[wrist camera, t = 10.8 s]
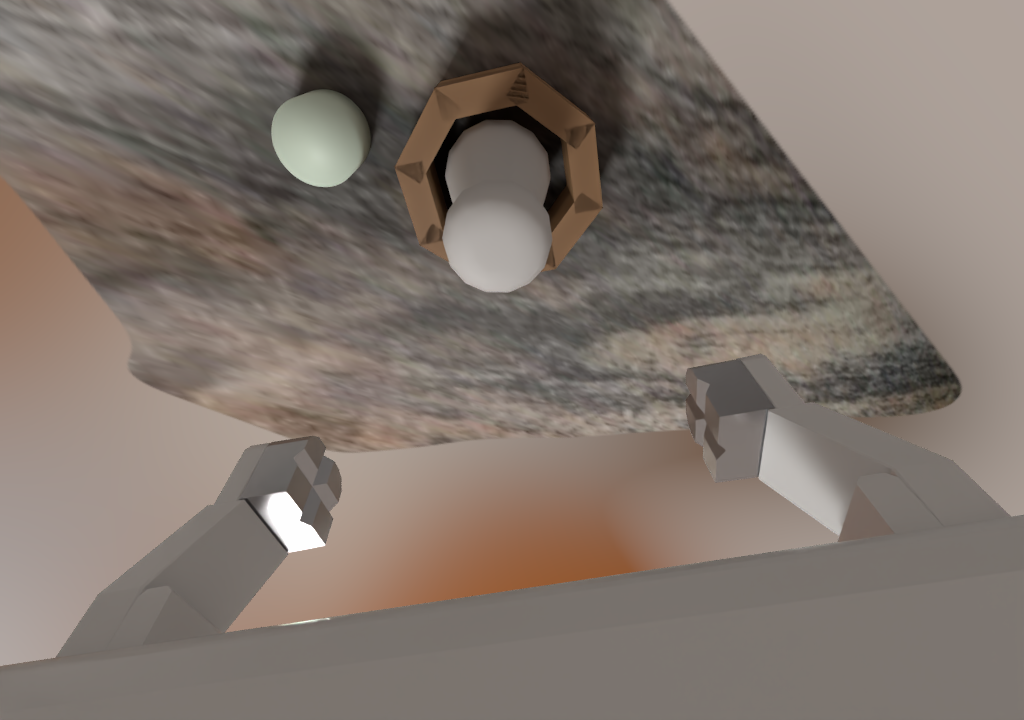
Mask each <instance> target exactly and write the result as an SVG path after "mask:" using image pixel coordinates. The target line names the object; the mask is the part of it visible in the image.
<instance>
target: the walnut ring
mask: <svg viewBox="0 0 1024 720" xmlns="http://www.w3.org/2000/svg"><path fill="white" fill-rule="evenodd" d="M515 105H517V106H518V107H520V108H521V109H522V110H524V111H525V112H526V113H528V114H529V115H530V116H532V117H533V118H534V119H536V120H537V121H538V122H540V123H541V124H543V125H544V126H545V127H547V128H548V129H549V130H551V131H552V132H553V133H555V134H556V135H557V136H559V137H560V138H561V145H562V153H563V160H564V168H565V175H566V183H567V185H566V186H565V188H564V189H563V191H562V192H561V194H560V195H559V196H558V198H557V199H556V201H555V202H554V203H553V205H552V206H551V208H550V209H549V211H548V212H547V213H548V215H549V220H550V226H551V233H552V244H551V248H550V251H549V254H548V258H547V261H546V264H545V267H544V268H543V270H542V271H547V270H553V269H556V268H557V267H558V265H559V264H560V263H561V261H562V260H563V259H564V257H565V256H566V255H567V254H568V252H569V251H570V250H571V248H572V247H573V246H574V244H575V243H576V242H577V240H578V239H579V238H580V237H581V235H582V234H583V233H584V231H585V230H586V229H587V227H588V226H589V225H590V223H591V222H592V221H593V220H594V218H595V217H596V216H597V214H598V213H599V212H600V210H601V209H602V208H603V207H602V196H601V186H600V175H599V164H598V154H597V143H596V132H595V122H594V121H593V120H592V119H591V118H590V117H589V116H588V115H587V114H586V113H585V112H583V111H582V110H581V109H579V108H578V107H577V106H575V105H574V104H573V103H572V102H570V101H569V100H568V99H566V98H565V97H564V96H563V95H561V94H560V93H559V92H558V91H556V90H555V89H554V88H552V87H551V86H550V85H549V84H547V83H546V82H545V81H543V80H542V79H541V78H540V77H538V76H537V75H536V74H535V73H533V72H532V71H531V70H529V69H528V68H527V67H526V66H524V65H523V64H522V63H521V62H520V63H516V64H512V65H507V66H503V67H499V68H495V69H491V70H486V71H482V72H478V73H474V74H469V75H465V76H461V77H457V78H452V79H448V80H444V81H441V82H440V83H439V84H438V85H437V86H436V87H435V88H434V91H433V93H432V95H431V97H430V99H429V101H428V102H427V104H426V106H425V108H424V110H423V112H422V114H421V116H420V118H419V120H418V122H417V124H416V126H415V128H414V130H413V132H412V134H411V136H410V138H409V140H408V142H407V144H406V146H405V148H404V150H403V152H402V154H401V156H400V158H399V160H398V162H397V164H396V165H395V170H396V173H397V176H398V179H399V182H400V185H401V188H402V191H403V195H404V198H405V201H406V204H407V207H408V210H409V213H410V216H411V219H412V222H413V225H414V229H415V232H416V235H417V238H418V241H419V244H420V246H422V247H424V248H426V249H427V250H429V251H431V252H432V253H434V254H436V255H438V256H439V257H441V258H443V259H444V260H446V261H448V262H449V260H448V257H447V254H446V250H445V247H444V244H443V239H442V236H443V231H444V226H445V221H446V216H447V212H448V210H447V207H446V203H445V200H444V196H443V192H442V189H441V185H440V182H439V178H438V174H437V171H436V167H435V164H434V160H433V159H434V157H435V156H436V154H437V152H438V150H439V148H440V146H441V145H442V143H443V141H444V139H445V137H446V135H447V134H448V132H449V130H450V128H451V126H452V124H453V123H454V121H455V119H458V118H463V117H467V116H471V115H476V114H480V113H484V112H489V111H493V110H498V109H502V108H506V107H511V106H515ZM542 271H541V272H542Z"/></svg>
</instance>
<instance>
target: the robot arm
mask: <svg viewBox="0 0 1024 720" xmlns="http://www.w3.org/2000/svg"><path fill="white" fill-rule="evenodd" d="M686 385H687V387H688V389H689V391H690V393H691V394H690V395H689V396H688V397H687V399H686V415H687V421H688V425H689V428H690V431H691V434H692V436H693V438H694V440H695V442H696V443H698V444H699V445H701V446H703V459H704V461H705V463H706V465H707V467H708V469H709V471H710V473H711V475H712V477H713V479H714V481H715V482H723V481H731V480H739V479H746V478H754V477H759V480H761V481H762V482H764V483H765V484H766V485H768V486H769V487H771V488H772V489H773V490H775V491H776V492H778V493H779V494H781V495H782V496H783V497H785V498H786V499H788V500H789V501H790V502H792V503H793V504H795V505H796V506H798V507H799V508H800V509H802V510H803V511H804V512H806V513H807V514H809V515H810V516H811V517H813V518H814V519H816V520H817V521H818V522H820V523H821V524H823V525H824V526H825V527H827V528H828V529H830V530H831V531H832V532H834V533H835V534H837V535H838V536H839V539H838V542H837V543H830V544H823V545H816V546H809V547H802V548H796V549H789V550H782V551H775V552H768V553H762V554H755V555H748V556H741V557H735V558H729V559H721V560H714V561H708V562H702V563H694V564H688V565H680V566H674V567H667V568H661V569H654V570H647V571H640V572H633V573H626V574H620V575H613V576H606V577H600V578H593V579H586V580H580V581H573V582H566V583H559V584H553V585H546V586H539V587H532V588H526V589H519V590H512V591H505V592H498V593H492V594H485V595H478V596H471V597H465V598H457V599H451V600H444V601H437V602H430V603H424V604H417V605H410V606H403V607H396V608H390V609H383V610H376V611H369V612H362V613H356V614H349V615H342V616H336V617H329V618H322V619H315V620H308V621H302V622H295V623H288V624H281V625H275V626H269V627H261V628H255V629H248V630H241V631H234V632H227V633H225V631H226V630H227V629H228V628H229V626H230V625H231V624H232V623H233V622H234V620H235V619H236V618H237V617H238V615H239V614H240V613H241V612H242V611H243V609H244V608H245V607H246V606H247V604H248V603H249V602H250V601H251V600H252V598H253V597H254V596H255V595H256V593H257V592H258V591H259V589H260V588H261V587H262V586H263V585H264V584H265V582H266V581H267V580H268V579H269V577H270V576H271V575H272V574H273V572H274V571H275V570H276V569H277V568H278V566H279V565H280V564H281V563H282V561H283V560H284V559H285V558H286V557H287V555H288V553H287V552H292V551H298V550H302V549H308V548H313V547H319V546H324V545H325V544H326V541H327V537H328V534H329V531H330V528H331V524H332V521H333V518H332V516H331V514H330V512H329V511H330V510H331V509H332V508H333V507H334V506H335V505H336V504H337V503H338V502H339V498H340V495H341V476H340V472H339V469H338V467H337V465H336V464H335V462H334V461H333V460H331V459H329V458H327V457H325V456H324V452H325V449H326V447H325V445H324V444H323V442H322V441H321V439H320V438H319V437H316V436H309V437H302V438H296V439H290V440H284V441H277V442H272V443H267V444H260V445H254V446H250V447H249V448H247V449H246V450H245V451H244V452H243V454H242V456H241V458H240V459H239V461H238V463H237V465H236V466H235V468H234V470H233V472H232V474H231V475H230V477H229V479H228V481H227V482H226V484H225V486H224V488H223V490H222V491H221V493H220V495H219V496H218V498H217V500H216V502H215V504H214V505H209V506H206V507H205V508H204V509H203V510H201V511H200V512H199V513H198V514H196V515H195V516H194V517H193V518H192V519H190V520H189V521H188V522H187V523H185V524H184V525H183V526H182V527H181V528H179V529H178V530H177V531H176V532H174V533H173V534H172V535H171V536H169V537H168V538H167V539H166V540H164V541H163V542H162V543H161V544H160V545H158V546H157V547H156V548H155V549H153V550H152V551H151V552H150V553H149V554H147V555H146V556H145V557H144V558H143V559H141V560H140V561H139V562H137V563H136V564H135V565H134V566H133V567H132V568H130V569H129V570H128V571H126V572H125V573H124V574H123V575H122V576H120V577H119V578H118V579H117V580H115V581H114V582H113V583H112V584H110V585H109V586H108V587H107V588H106V589H104V590H103V591H102V592H101V593H99V594H98V595H97V597H96V598H95V600H94V601H93V603H92V604H91V606H90V607H89V609H88V610H87V612H86V613H85V615H84V616H83V618H82V619H81V621H80V622H79V623H78V625H77V626H76V628H75V629H74V631H73V632H72V634H71V635H70V637H69V638H68V640H67V641H66V643H65V644H64V646H63V647H62V649H61V650H60V652H59V653H58V655H57V656H56V657H55V658H51V659H44V660H38V661H31V662H24V663H17V664H12V665H4V666H0V720H1024V515H1020V516H1013V517H1011V516H1010V515H1009V514H1008V513H1007V512H1006V511H1005V510H1004V509H1003V508H1002V507H1001V506H1000V505H999V504H998V503H996V502H995V501H994V500H993V499H992V498H991V497H990V496H989V495H988V494H987V493H986V492H985V491H984V490H983V489H982V488H981V487H980V486H979V485H978V484H977V483H976V482H975V481H974V480H973V479H971V478H970V477H969V476H968V475H967V474H966V473H965V472H964V471H963V470H962V469H961V468H960V467H959V466H958V465H957V464H956V463H955V462H954V461H953V460H950V459H948V458H946V457H943V456H941V455H939V454H936V453H934V452H931V451H929V450H927V449H924V448H922V447H919V446H917V445H914V444H912V443H910V442H907V441H905V440H902V439H900V438H898V437H895V436H893V435H891V434H888V433H885V432H883V431H881V430H879V429H876V428H874V427H871V426H869V425H867V424H864V423H862V422H859V421H857V420H855V419H852V418H850V417H847V416H845V415H843V414H840V413H838V412H835V411H833V410H831V409H828V408H826V407H823V406H821V405H819V404H816V403H814V402H811V403H805V402H804V401H803V400H802V399H801V397H800V396H799V395H798V394H797V393H796V391H795V390H794V389H793V388H792V387H791V385H790V384H789V383H788V382H787V381H786V379H785V378H784V377H783V376H782V375H781V373H780V372H779V371H778V370H777V369H776V367H775V366H774V365H773V364H772V363H771V361H770V360H769V359H768V358H767V357H766V356H765V355H763V354H758V355H753V356H748V357H743V358H738V359H736V360H731V361H725V362H720V363H715V364H709V365H704V366H698V367H693V368H688V369H687V372H686Z"/></svg>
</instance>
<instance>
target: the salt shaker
mask: <svg viewBox="0 0 1024 720" xmlns="http://www.w3.org/2000/svg"><path fill="white" fill-rule="evenodd" d="M445 178H446V182H447V186H448V189H449V193H450V197H451V200H452V203H453V204H452V206H451V207H450V208H449V210H448V212H447V216H446V221H445V226H444V231H443V236H442V239H443V244H444V247H445V250H446V254H447V257H448V260H449V263H450V266H451V267H452V268H453V270H454V271H455V272H456V273H457V274H458V275H459V276H460V278H461V279H462V280H463V281H464V282H465V283H467V284H469V285H471V286H474V287H476V288H478V289H481V290H483V291H485V292H511V291H513V290H515V289H518V288H520V287H522V286H524V285H527V284H529V283H530V282H531V281H532V280H533V279H534V278H535V277H536V276H537V275H538V274H539V273H540V272H541V271H542V270H543V268H544V267H545V264H546V261H547V258H548V254H549V251H550V248H551V244H552V233H551V226H550V220H549V215H548V213H547V211H546V210H545V208H544V207H543V204H544V202H545V198H546V194H547V190H548V187H549V183H550V179H551V176H550V168H549V160H548V153H547V152H546V150H545V149H544V148H543V146H542V145H541V143H540V142H539V140H538V139H537V138H536V136H535V135H534V133H533V132H531V131H529V130H528V129H526V128H524V127H522V126H521V125H519V124H517V123H516V122H514V121H512V120H485V121H483V122H481V123H479V124H477V125H475V126H473V127H471V128H469V129H466V130H464V131H463V133H462V134H461V135H460V137H459V138H458V140H457V141H456V142H455V144H454V145H453V147H452V148H451V149H450V151H449V155H448V161H447V166H446V172H445Z"/></svg>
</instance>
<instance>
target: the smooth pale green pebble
mask: <svg viewBox="0 0 1024 720" xmlns="http://www.w3.org/2000/svg"><path fill="white" fill-rule="evenodd" d="M271 130H272V141H273V145H274V148H275V151H276V153H277V155H278V157H279V159H280V160H281V162H282V164H283V165H284V166H285V167H286V168H287V169H288V170H289V171H290V172H291V173H292V174H293V175H294V176H295V177H297V178H298V179H300V180H301V181H303V182H305V183H308V184H310V185H314V186H319V187H331V186H335V185H338V184H340V183H342V182H344V181H345V180H347V179H348V178H349V177H350V176H351V175H352V174H353V173H354V172H355V171H356V170H357V169H358V168H359V167H360V165H361V164H362V163H363V162H364V161H365V159H366V158H367V156H368V153H369V150H370V146H371V134H370V129H369V125H368V122H367V120H366V118H365V116H364V114H363V113H362V111H361V110H360V108H359V107H358V106H357V105H356V104H355V103H354V102H353V101H352V100H351V99H349V98H348V97H347V96H345V95H343V94H341V93H339V92H337V91H333V90H328V89H318V90H314V91H311V92H308V93H305V94H302V95H300V96H297V97H294V98H292V99H290V100H288V101H286V102H285V103H284V104H282V105H281V107H280V108H279V109H278V110H277V112H276V114H275V116H274V118H273V122H272V129H271Z"/></svg>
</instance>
